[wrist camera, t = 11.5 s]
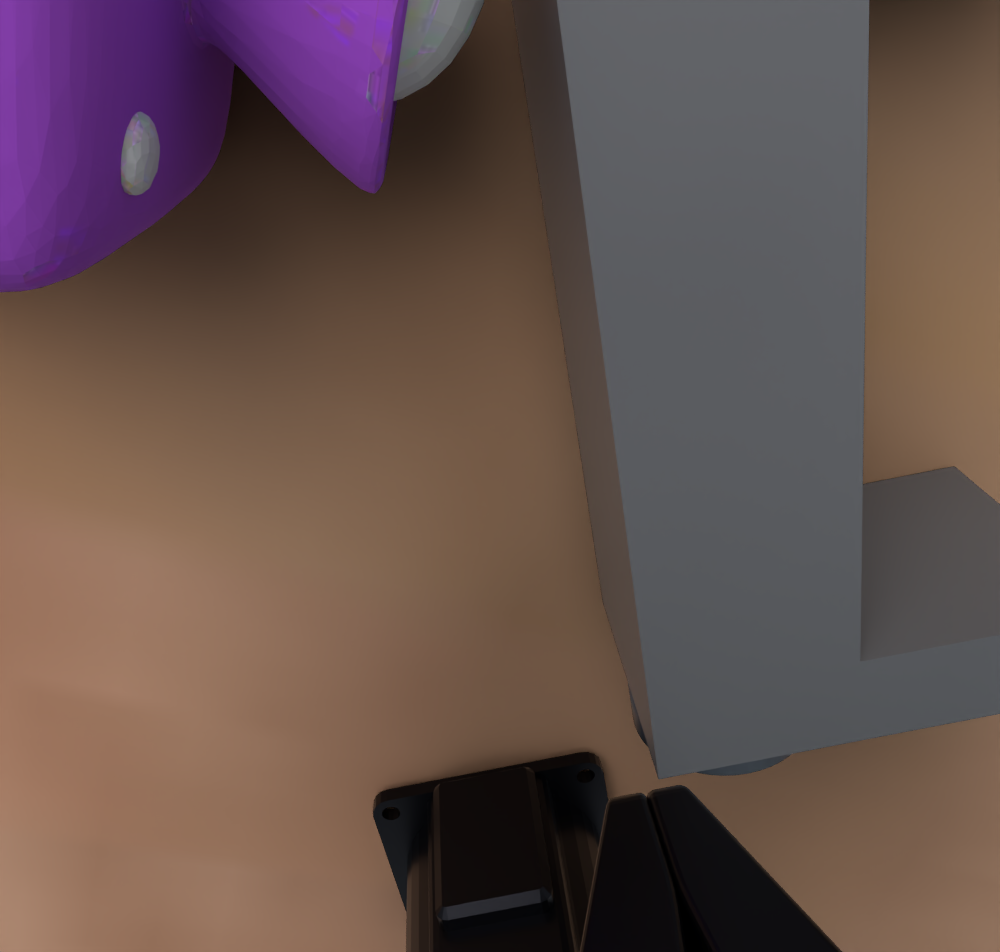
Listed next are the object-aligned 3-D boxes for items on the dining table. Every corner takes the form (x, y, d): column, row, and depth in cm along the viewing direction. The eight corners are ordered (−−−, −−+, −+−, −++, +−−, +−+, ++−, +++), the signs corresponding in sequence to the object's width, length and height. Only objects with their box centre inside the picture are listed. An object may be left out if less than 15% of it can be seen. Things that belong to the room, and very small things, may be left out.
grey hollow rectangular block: (947, 573, 23) (1103, 737, 18) (608, 638, 23) (663, 821, 18) (1002, -244, 15) (1308, -382, 10) (490, -140, 16) (527, -222, 10)
